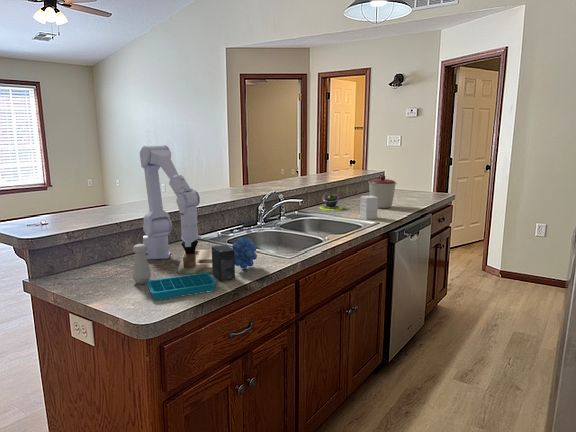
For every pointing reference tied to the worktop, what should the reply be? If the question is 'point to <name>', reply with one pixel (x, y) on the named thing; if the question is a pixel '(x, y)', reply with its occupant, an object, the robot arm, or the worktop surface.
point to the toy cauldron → (330, 203)
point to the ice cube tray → (181, 285)
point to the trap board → (198, 263)
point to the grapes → (244, 253)
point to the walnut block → (189, 260)
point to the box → (223, 262)
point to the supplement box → (368, 207)
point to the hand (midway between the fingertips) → (190, 260)
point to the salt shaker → (141, 265)
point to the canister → (382, 191)
